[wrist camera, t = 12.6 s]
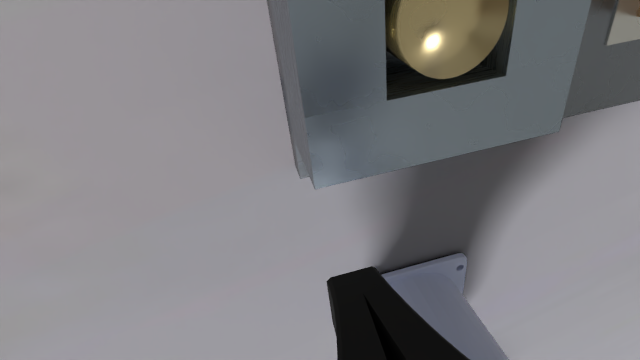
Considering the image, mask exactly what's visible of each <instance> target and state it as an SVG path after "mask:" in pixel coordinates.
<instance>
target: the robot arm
mask: <svg viewBox="0 0 640 360" xmlns="http://www.w3.org/2000/svg"><path fill="white" fill-rule="evenodd" d="M466 266H467V257H466V256H465V255H464V254H463V253H458V254H454V255H450V256H447V257H443V258H439V259H436V260H432V261H429V262H425V263H421V264H418V265H414V266H410V267H407V268H403V269H399V270H396V271H392V272H389V273H385V274H380V273H379V272H378V271H377V269H376V268H374V267H368V268H364V269H361V270H357V271H353V272H349V273H346V274H342V275H338V276H335V277H331V278H330V279H329V280H328V281H327V286H328V293H329V300H330V306H331V313H332V320H333V325H334V328H335V332H336V336H337V355H338V359H337V360H509V359H508V357H507V356H506V355H505V353H504V352H503V350H502V349H501V348H500V346H499V345H498V344H497V342H496V341H495V339H494V338H493V337H492V335H491V334H490V332H489V331H488V330H487V328H486V327H485V325H484V324H483V323H482V321H481V320H480V318H479V317H478V316H477V314H476V313H475V311H474V310H473V309H472V307H471V306H470V304H469V303H468V302H467V300H466V299H465V297H464V296H463V289H464V282H465V274H466Z"/></svg>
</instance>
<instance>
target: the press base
mask: <svg viewBox="0 0 640 360" xmlns="http://www.w3.org/2000/svg"><path fill="white" fill-rule="evenodd" d="M267 4H268V9H269V15H270V21H271V27H272V33H273V38H274V44H275V50H276V56H277V62H278V67H279V73H280V79H281V85H282V91H283V97H284V102H285V108H286V114H287V120H288V126H289V131H290V137H291V143H292V149H293V155H294V160H295V166H296V169H297V171H298V174H299V176H300V179H301V178H306V177H310V179H311V181H312V184H313V186H314V188H315V189H318V188H323V187H327V186H331V185H335V184H340V183H344V182H348V181H352V180H356V179H361V178H365V177H369V176H373V175H378V174H382V173H386V172H390V171H395V170H399V169H403V168H407V167H411V166H416V165H420V164H424V163H428V162H433V161H437V160H441V159H445V158H450V157H454V156H458V155H462V154H466V153H471V152H475V151H479V150H483V149H488V148H492V147H496V146H500V145H504V144H509V143H513V142H517V141H521V140H526V139H530V138H534V137H538V136H543V135H547V134H551V133H555V132H559V130H560V126H561V122H562V118H565V117H570V116H574V115H578V114H582V113H587V112H591V111H595V110H600V109H604V108H608V107H613V106H617V105H621V104H626V103H630V102H634V101H639V100H640V17H636V16H637V13H638V9H639V6H640V0H509V6H508V14H507V19H506V22H505V26H504V29H503V31H502V33H501V36H500V38H499V39H498V41H497V43H496V45H495V46H494V48H493V49H492V50H491V52H490V53H489V54H488V55H487V56H486V57H485V59H484V60H483V61H482V62H480V63H479V64H478V65H477V66H476V67H474V68H473V69H471V70H470V71H468V72H466V73H464V74H462V75H459V76H457V77H453V78H448V79H436V78H431V77H428V76H425V75H423V74H421V73H419V72H418V71H416V70H415V69H413V68H412V67H410V66H408V65H407V64H405V63H404V62H402V61H401V60H399V59H398V58H396V57H394V56H393V55H391V54H390V53H388V52H387V51H386V40H385V0H267Z"/></svg>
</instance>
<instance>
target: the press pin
mask: <svg viewBox="0 0 640 360" xmlns="http://www.w3.org/2000/svg"><path fill="white" fill-rule="evenodd" d="M508 6H509V0H385V40H386V51H387V52H388V53H390V54H391V55H393V56H394V57H396V58H398V59H399V60H401V61H402V62H404V63H405V64H407V65H408V66H410V67H412V68H413V69H415V70H416V71H418V72H419V73H421V74H423V75H425V76H428V77H431V78H436V79H448V78H453V77H457V76H459V75H462V74H464V73H466V72H468V71H470V70H471V69H473V68H474V67H476V66H477V65H478V64H479V63H480V62H482V61H483V60H484V59H485V57H486V56H487V55H488V54H489V53H490V52H491V50H492V49H493V48H494V46H495V45H496V43H497V41H498V39H499V38H500V36H501V33H502V31H503V29H504V26H505V22H506V19H507V14H508Z"/></svg>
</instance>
